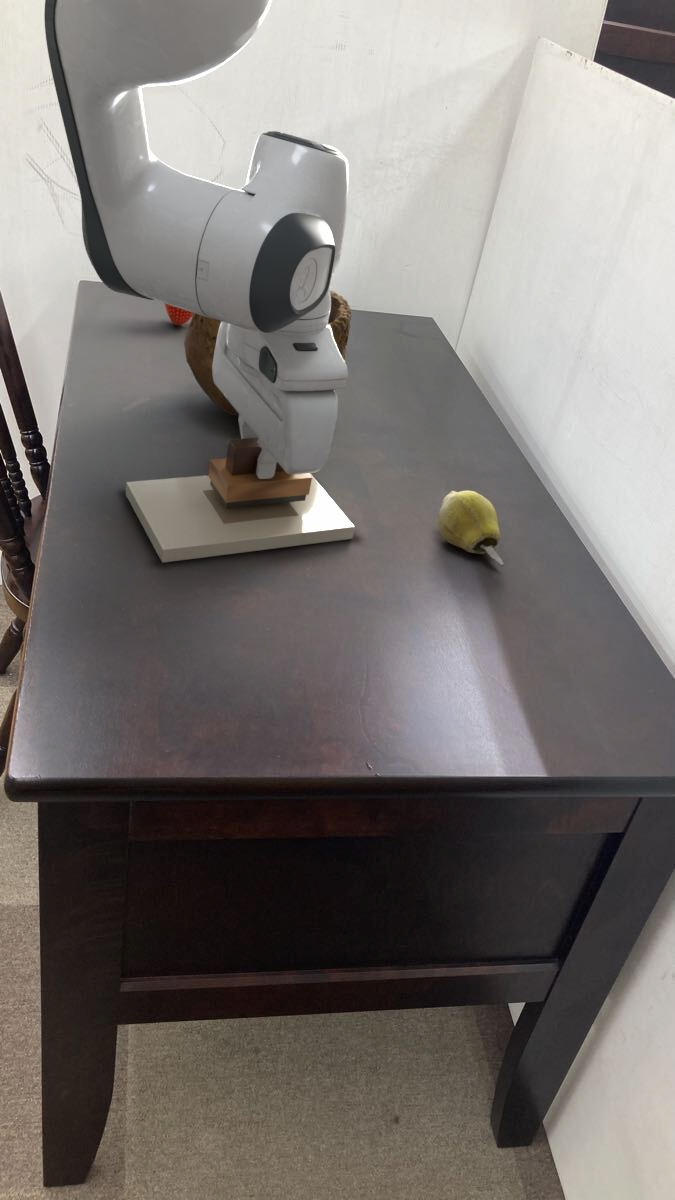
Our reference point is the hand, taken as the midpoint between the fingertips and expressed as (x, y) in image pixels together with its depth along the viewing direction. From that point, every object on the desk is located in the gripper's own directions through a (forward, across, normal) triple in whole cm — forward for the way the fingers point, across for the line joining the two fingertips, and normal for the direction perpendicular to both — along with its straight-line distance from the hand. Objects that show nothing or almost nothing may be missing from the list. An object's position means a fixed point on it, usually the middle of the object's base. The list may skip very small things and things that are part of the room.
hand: (256, 467), depth 88 cm
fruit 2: (+5, +11, +21) cm, 24 cm away
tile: (+5, +1, -1) cm, 6 cm away
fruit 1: (+5, -48, +9) cm, 49 cm away
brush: (+3, 0, +1) cm, 3 cm away
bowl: (+5, -21, +10) cm, 24 cm away
